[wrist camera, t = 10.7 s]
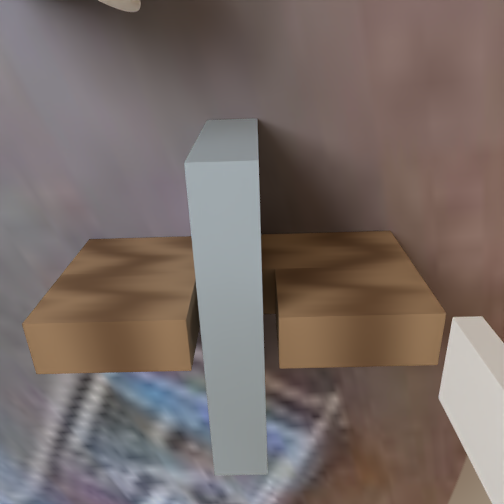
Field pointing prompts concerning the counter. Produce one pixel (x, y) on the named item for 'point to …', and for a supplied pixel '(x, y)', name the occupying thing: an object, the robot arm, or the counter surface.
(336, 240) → the walnut board
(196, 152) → the grey flat rectangular block
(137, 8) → the mug
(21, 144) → the counter surface
